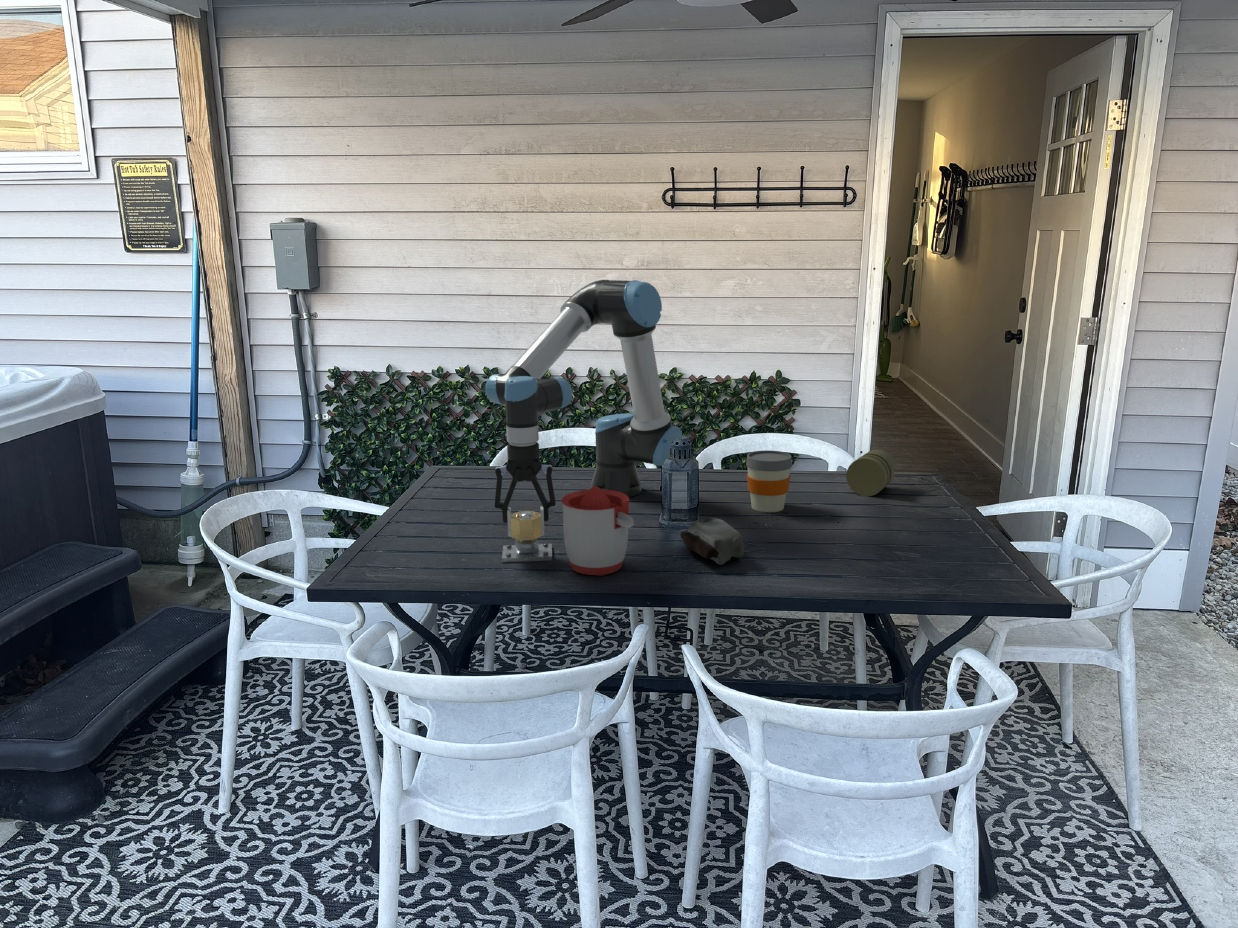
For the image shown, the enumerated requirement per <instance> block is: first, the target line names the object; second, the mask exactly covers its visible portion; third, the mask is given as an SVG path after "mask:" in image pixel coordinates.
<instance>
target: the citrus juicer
mask: <svg viewBox="0 0 1238 928" xmlns="http://www.w3.org/2000/svg"><path fill="white" fill-rule="evenodd" d="M561 504H562V524H563V527H562V528H563V541H564V547H565V552H566V555H567V558H568V563H569V564H570V566H571V568H572V570H573V571H574V572H576V573H578V574H582V575H587V576H597V577H603V576H605V575H608V574H613V573H615V572H618V571H619V570H620V569H621V567H622V565H623V564H624V561H625V557H626V553H627V547H628V542H629V529H631V528H632V527H634V524H635V521H634V518H633V517H632V516H630V497H628V496H627V495H626V494H624V493H621V492H618V491H612V490H602V489H599V488H598V487H597V486H593V487H592V488H591V487H590V489H583V490H578V491H572V492H570V493H567V494H565V495H564V496H563V497H562V498H561Z"/></svg>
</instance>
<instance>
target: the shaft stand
mask: <svg viewBox="0 0 1238 928" xmlns="http://www.w3.org/2000/svg"><path fill="white" fill-rule="evenodd" d="M532 517H533V515H532V513H531V512H522V513H520V514H519V518H521V519H526V518H532ZM514 540H515V541H514V543H515V544H513V545H512V544H506V545H502V556H501V563H518V562H523V563H524V562H541V561H542V562H543V561H547V562H548V561H553V549H552V548H553V547H552V546H553V544H552V543H547V542H544V543H539V538H536V539H533V540H517V539H514Z"/></svg>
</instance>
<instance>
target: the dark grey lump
mask: <svg viewBox="0 0 1238 928" xmlns="http://www.w3.org/2000/svg"><path fill="white" fill-rule="evenodd" d="M679 534H680V539H681V540H682V541H683V544H684V545H685V547H686V548H687V549H689V550H691V551H692V552H693V553H694V552H695V553H697V554H698V555H700V556H701V557H702V558H704V559H705V560H706V559H707V560H709V559H710V560H712V561H714V562H715V563H716V564H717V565H719V566H723V565H725V563H727V562H728V561H732V559H731V558H733V557H734V558H736V559H742V558H743V556H744V542H743V537H742V534H741V533H740V532H739V531H738V530H736V529H735V528H734V527H733V526H731V525H730V524H728V522H726V521H725V520H723V519H721V518H717V517H711V516H710V517H707V518H704V520H703V521H693V522H692V523H691V524H690V525H689V527H688V528H687V529H686V530H681V531H680V533H679Z"/></svg>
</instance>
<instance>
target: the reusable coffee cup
mask: <svg viewBox="0 0 1238 928" xmlns="http://www.w3.org/2000/svg"><path fill="white" fill-rule="evenodd" d="M745 464H746V465H745V466H746V467H747V474H746V479H747V490H748V492H750V493H749V494H750V502H751V503H750V504H751V508H752V509H753V510H755V511H757V512H761V513H776V512H777V513H778V512H781V511H783V510H784V508H785V503H786V498H787V497H786V496H787V493H788V492H789V488H790V481H791V474H790V473H791V468H793V467H792V466H793V464H792V455H791V454H790V453H788V452H784V451H779V450H757V451H756V450H755V451H752V452H749V453H747V456H746V463H745Z"/></svg>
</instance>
